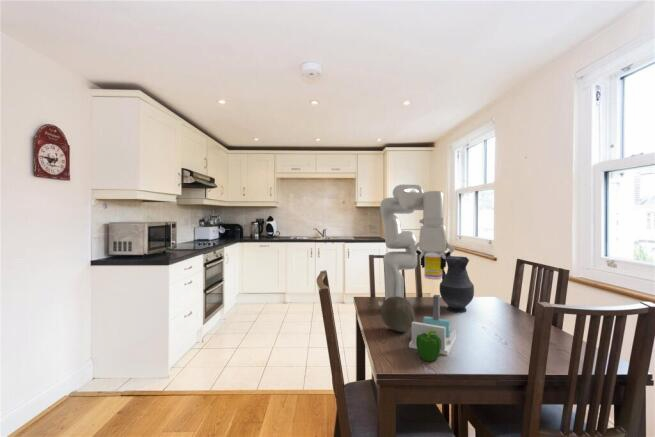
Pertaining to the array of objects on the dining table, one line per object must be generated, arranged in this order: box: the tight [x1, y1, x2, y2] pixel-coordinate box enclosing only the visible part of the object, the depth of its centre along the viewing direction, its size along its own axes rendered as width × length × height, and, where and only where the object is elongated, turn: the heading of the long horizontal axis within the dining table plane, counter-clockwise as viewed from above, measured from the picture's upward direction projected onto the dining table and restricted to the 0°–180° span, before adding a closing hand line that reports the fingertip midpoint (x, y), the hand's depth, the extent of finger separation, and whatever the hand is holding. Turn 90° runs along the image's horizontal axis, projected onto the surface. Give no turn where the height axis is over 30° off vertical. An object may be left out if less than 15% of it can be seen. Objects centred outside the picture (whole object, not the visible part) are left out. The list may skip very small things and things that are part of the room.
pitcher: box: [439, 254, 475, 313], centre depth 175 cm, size 17×21×30 cm
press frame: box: [408, 321, 457, 356], centre depth 128 cm, size 14×20×10 cm
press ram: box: [422, 294, 451, 337], centre depth 133 cm, size 10×3×16 cm, turn 60°
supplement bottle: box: [423, 251, 442, 281], centre depth 127 cm, size 7×7×13 cm
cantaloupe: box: [380, 297, 415, 333], centre depth 141 cm, size 14×14×15 cm
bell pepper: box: [416, 330, 441, 362], centre depth 114 cm, size 8×8×10 cm
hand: (433, 267), depth 127 cm, fingers closed on supplement bottle, 6 cm apart
